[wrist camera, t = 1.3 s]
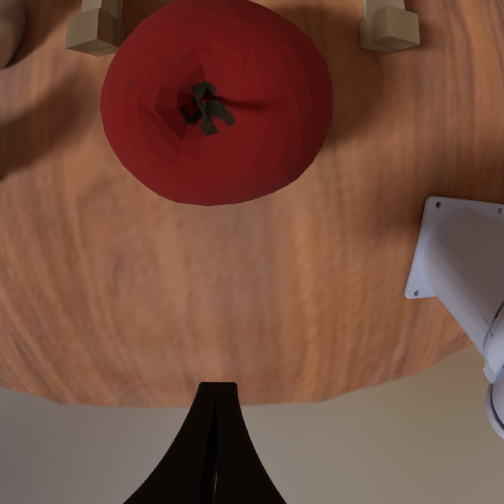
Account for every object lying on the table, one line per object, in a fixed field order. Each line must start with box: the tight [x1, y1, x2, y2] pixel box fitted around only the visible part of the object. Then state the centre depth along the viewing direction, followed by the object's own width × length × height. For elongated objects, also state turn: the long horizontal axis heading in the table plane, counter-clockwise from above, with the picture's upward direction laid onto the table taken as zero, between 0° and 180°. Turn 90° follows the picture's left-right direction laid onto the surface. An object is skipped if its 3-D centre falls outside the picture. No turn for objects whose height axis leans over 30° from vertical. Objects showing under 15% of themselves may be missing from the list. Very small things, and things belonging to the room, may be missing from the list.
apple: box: [100, 0, 332, 206], centre depth 10 cm, size 9×9×10 cm
